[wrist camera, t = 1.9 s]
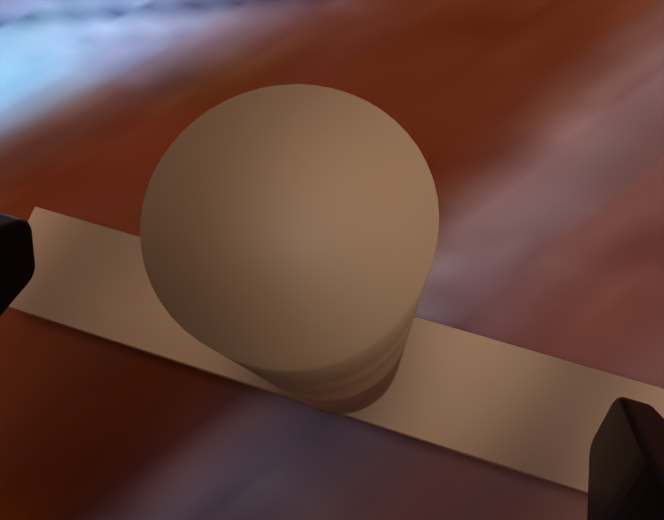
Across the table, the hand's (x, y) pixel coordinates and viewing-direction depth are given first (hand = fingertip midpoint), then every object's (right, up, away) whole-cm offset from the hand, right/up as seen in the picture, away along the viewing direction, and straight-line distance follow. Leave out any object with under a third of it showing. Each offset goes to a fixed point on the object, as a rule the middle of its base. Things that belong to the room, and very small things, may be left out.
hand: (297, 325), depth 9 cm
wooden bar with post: (+1, -2, +9) cm, 9 cm away
